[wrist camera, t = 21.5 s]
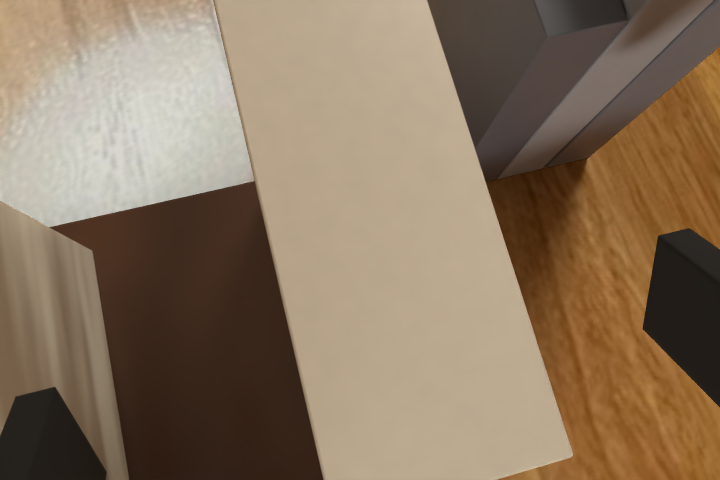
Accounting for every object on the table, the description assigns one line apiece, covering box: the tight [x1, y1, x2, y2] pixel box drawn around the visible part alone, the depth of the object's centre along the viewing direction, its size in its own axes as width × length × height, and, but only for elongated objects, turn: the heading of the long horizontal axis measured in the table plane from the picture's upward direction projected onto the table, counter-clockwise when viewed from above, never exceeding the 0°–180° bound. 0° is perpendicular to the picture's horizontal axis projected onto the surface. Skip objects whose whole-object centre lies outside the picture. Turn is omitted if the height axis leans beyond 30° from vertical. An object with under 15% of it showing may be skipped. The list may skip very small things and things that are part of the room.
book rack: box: [0, 181, 323, 480], centre depth 16 cm, size 20×14×19 cm
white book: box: [213, 0, 573, 480], centre depth 17 cm, size 3×11×18 cm, turn 14°
